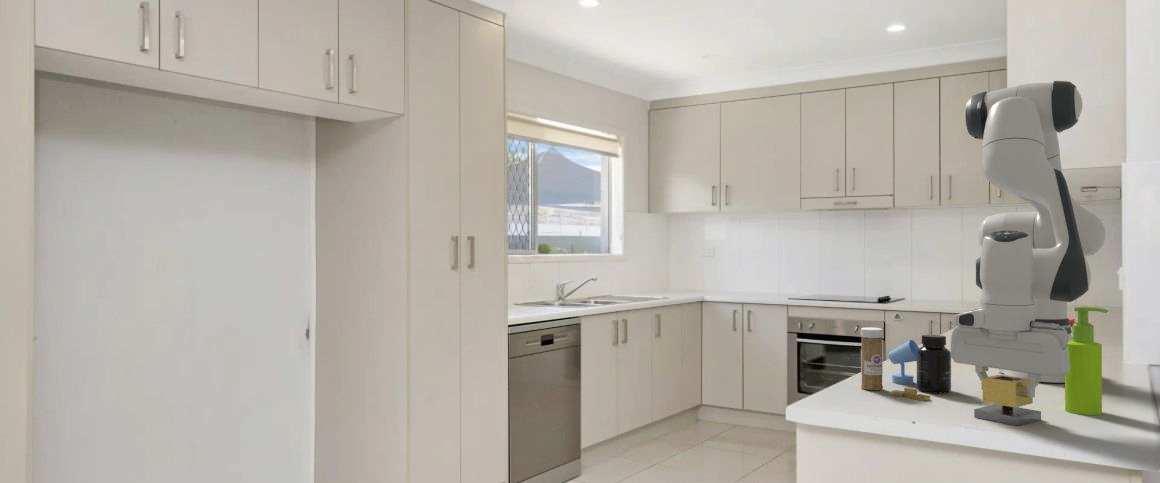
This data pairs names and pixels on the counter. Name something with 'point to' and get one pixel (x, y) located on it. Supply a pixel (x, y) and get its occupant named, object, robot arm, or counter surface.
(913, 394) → the tan barbell toy
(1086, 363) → the soap dispenser
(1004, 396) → the end link
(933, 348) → the supplement bottle
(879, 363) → the sprinkles bottle
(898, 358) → the spotlight
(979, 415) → the grey peg stand
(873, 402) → the counter surface
